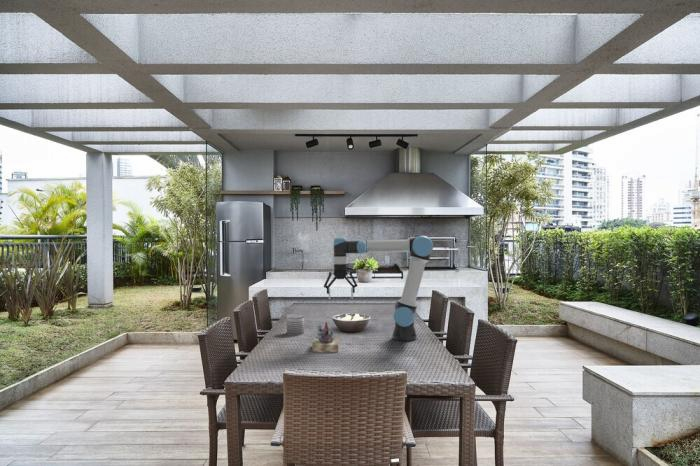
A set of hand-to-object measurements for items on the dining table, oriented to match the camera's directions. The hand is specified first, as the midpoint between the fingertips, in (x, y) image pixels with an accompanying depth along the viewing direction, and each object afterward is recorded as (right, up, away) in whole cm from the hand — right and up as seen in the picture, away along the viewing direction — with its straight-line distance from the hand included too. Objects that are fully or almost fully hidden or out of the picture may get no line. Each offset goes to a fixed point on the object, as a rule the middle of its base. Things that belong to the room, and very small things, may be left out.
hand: (340, 299), depth 287 cm
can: (-30, -26, +22) cm, 45 cm away
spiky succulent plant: (-8, -21, -18) cm, 29 cm away
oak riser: (-8, -25, -20) cm, 33 cm away
